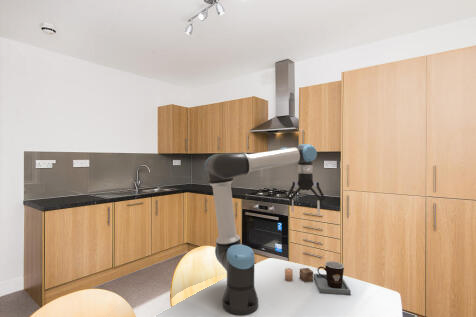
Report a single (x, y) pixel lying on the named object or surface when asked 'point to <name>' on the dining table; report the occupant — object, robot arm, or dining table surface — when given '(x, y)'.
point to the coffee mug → (333, 274)
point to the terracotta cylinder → (288, 274)
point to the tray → (326, 289)
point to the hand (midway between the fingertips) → (305, 212)
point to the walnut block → (306, 275)
